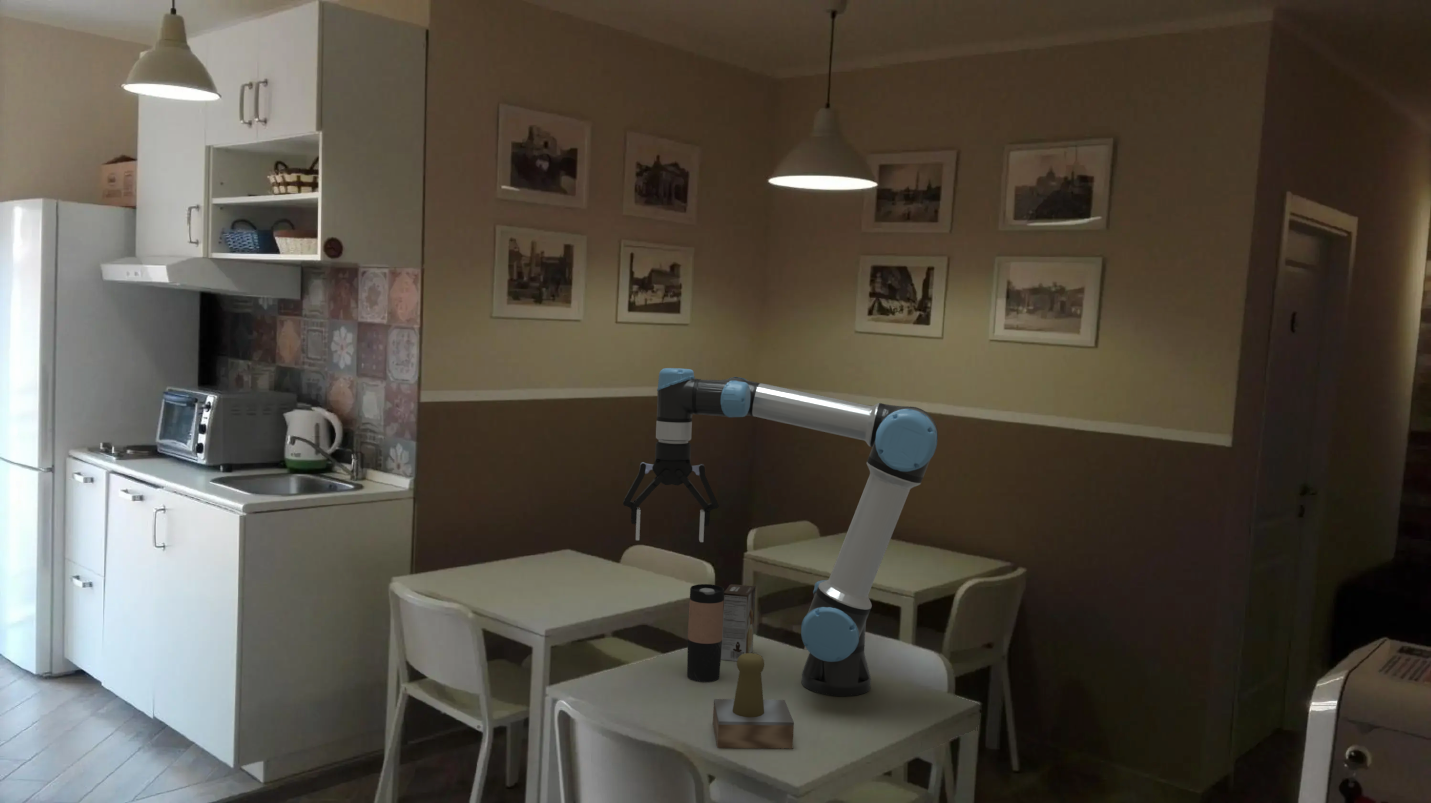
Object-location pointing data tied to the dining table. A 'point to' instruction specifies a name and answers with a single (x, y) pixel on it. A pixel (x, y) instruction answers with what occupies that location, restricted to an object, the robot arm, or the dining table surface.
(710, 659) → the travel mug
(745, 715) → the cork
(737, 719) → the walnut stand
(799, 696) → the dining table surface
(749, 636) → the coffee box
